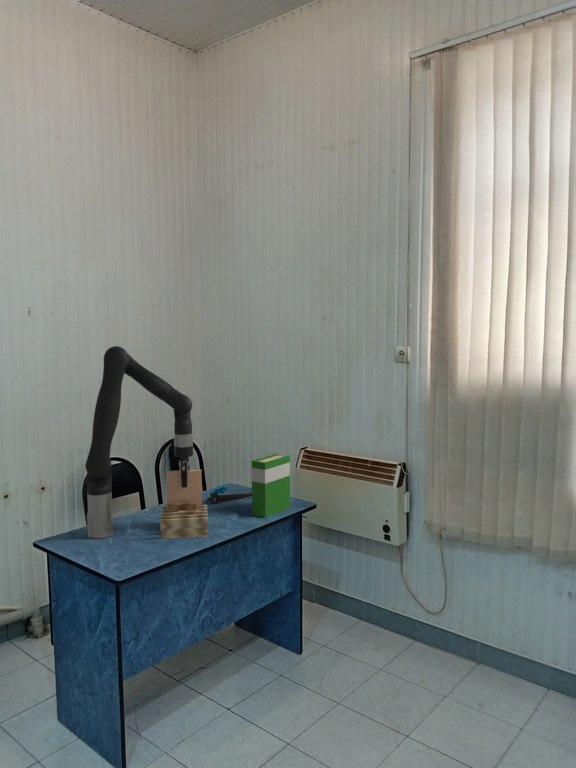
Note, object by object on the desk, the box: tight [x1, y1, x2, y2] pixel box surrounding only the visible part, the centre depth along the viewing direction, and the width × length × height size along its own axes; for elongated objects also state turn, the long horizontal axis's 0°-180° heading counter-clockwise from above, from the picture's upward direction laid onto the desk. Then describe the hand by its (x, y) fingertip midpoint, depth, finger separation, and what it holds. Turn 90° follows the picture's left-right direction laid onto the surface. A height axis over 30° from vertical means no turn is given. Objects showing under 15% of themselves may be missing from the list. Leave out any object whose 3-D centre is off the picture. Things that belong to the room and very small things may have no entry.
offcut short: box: [178, 510, 201, 515], centre depth 253 cm, size 9×2×8 cm, turn 98°
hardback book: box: [251, 453, 291, 519], centre depth 281 cm, size 18×7×24 cm, turn 143°
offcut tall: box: [168, 502, 196, 513], centre depth 256 cm, size 11×2×10 cm, turn 98°
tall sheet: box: [165, 469, 203, 510], centre depth 260 cm, size 14×2×22 cm, turn 98°
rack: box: [159, 504, 209, 540], centre depth 255 cm, size 18×19×8 cm
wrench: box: [206, 492, 252, 505], centre depth 299 cm, size 5×5×30 cm
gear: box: [206, 484, 228, 499], centre depth 299 cm, size 11×6×10 cm
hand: (184, 486), depth 259 cm, fingers closed on tall sheet, 1 cm apart
